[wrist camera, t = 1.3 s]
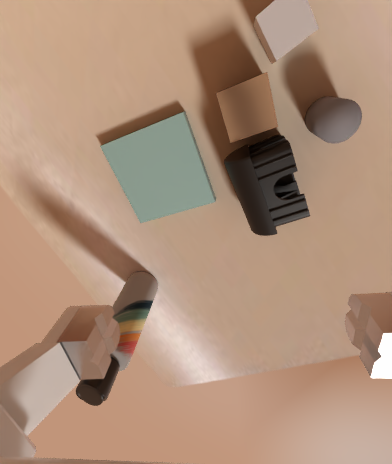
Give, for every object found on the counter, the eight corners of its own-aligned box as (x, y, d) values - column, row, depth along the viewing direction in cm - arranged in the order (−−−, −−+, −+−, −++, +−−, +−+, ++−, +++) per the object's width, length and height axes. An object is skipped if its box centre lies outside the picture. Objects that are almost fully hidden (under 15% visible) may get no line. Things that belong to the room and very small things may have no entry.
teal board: (185, 111, 30) (183, 112, 29) (215, 198, 36) (215, 201, 35) (104, 144, 34) (100, 146, 33) (143, 219, 39) (140, 223, 38)
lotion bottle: (140, 297, 48) (87, 413, 31) (122, 275, 46) (56, 388, 29) (164, 289, 46) (122, 409, 29) (147, 266, 44) (91, 382, 27)
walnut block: (262, 73, 27) (267, 72, 23) (272, 120, 30) (278, 126, 25) (219, 91, 29) (216, 93, 25) (231, 134, 31) (230, 143, 27)
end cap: (224, 152, 32) (221, 167, 27) (279, 128, 30) (289, 139, 24) (250, 216, 36) (252, 242, 31) (300, 200, 34) (313, 224, 28)
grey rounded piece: (341, 90, 27) (360, 92, 23) (344, 127, 29) (362, 135, 25) (302, 104, 28) (314, 108, 24) (307, 139, 30) (319, 148, 26)
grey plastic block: (290, -7, 24) (299, -22, 21) (307, 36, 25) (318, 28, 22) (253, 25, 26) (255, 16, 22) (271, 63, 27) (276, 61, 24)
